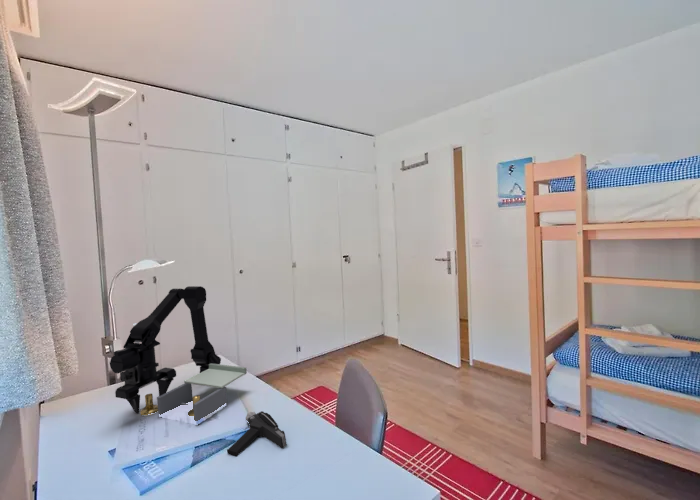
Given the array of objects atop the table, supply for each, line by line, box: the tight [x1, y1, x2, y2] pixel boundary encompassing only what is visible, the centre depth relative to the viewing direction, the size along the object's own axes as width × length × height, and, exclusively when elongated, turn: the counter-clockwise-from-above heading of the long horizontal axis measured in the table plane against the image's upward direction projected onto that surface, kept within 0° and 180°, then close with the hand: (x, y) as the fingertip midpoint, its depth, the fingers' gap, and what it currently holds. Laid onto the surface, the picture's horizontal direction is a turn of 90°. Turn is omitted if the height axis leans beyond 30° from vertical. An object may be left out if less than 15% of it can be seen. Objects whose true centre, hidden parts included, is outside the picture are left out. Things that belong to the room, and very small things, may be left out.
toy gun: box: [226, 411, 287, 457], centre depth 101 cm, size 5×21×15 cm
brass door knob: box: [139, 393, 158, 417], centre depth 120 cm, size 6×6×6 cm
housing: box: [156, 383, 228, 421], centre depth 118 cm, size 13×17×7 cm
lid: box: [183, 363, 248, 389], centre depth 128 cm, size 13×17×2 cm
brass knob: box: [188, 394, 201, 416], centre depth 115 cm, size 6×6×6 cm
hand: (149, 406), depth 120 cm, fingers open, 9 cm apart
